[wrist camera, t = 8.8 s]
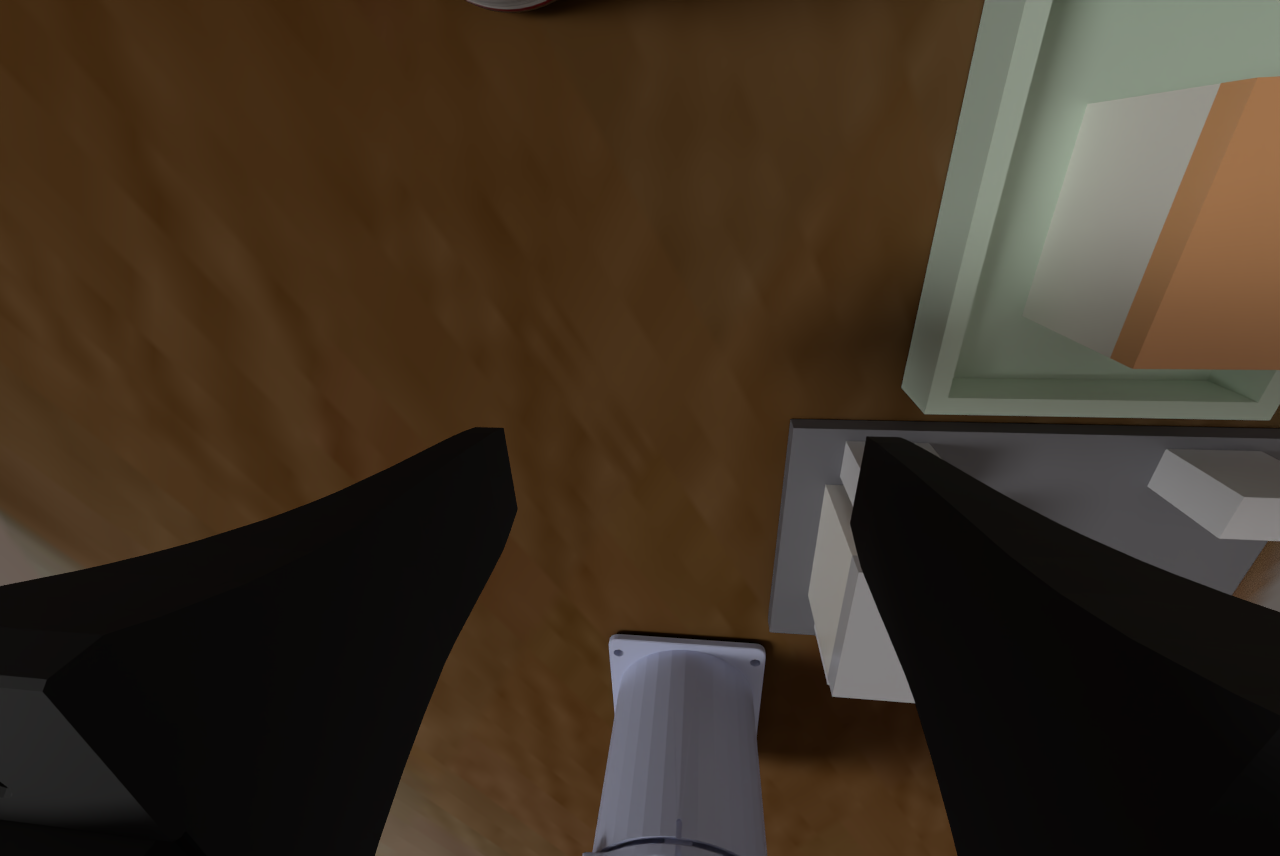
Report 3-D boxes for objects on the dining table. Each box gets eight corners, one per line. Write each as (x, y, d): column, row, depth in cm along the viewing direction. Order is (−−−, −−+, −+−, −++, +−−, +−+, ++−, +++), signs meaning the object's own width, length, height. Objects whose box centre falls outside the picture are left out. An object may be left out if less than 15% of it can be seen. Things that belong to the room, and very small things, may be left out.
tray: (1206, 391, 18) (1270, 420, 16) (901, 387, 19) (924, 413, 17) (1443, -72, 12) (1588, -118, 10) (993, -38, 14) (1043, -73, 12)
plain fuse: (900, 600, 23) (947, 705, 18) (807, 595, 23) (832, 696, 19) (931, 487, 20) (995, 579, 16) (825, 484, 20) (858, 572, 16)
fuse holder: (1173, 644, 23) (1252, 726, 20) (768, 619, 25) (777, 688, 22) (1310, 429, 18) (1447, 489, 15) (790, 419, 20) (807, 469, 17)
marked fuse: (1155, 315, 17) (1318, 370, 12) (1022, 315, 17) (1132, 368, 13) (1248, 96, 14) (1503, 64, 9) (1087, 103, 14) (1257, 77, 10)
